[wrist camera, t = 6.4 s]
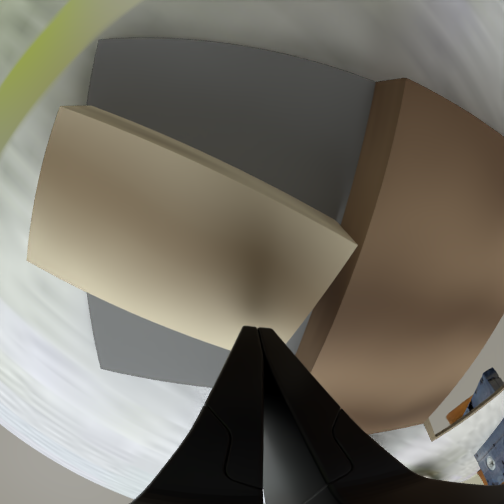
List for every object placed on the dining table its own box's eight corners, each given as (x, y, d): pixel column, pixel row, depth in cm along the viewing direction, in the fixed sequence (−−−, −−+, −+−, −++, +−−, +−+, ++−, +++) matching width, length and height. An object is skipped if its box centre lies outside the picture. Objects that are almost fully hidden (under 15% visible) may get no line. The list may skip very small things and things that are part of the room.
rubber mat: (278, 383, 14) (280, 392, 14) (103, 360, 13) (100, 368, 12) (368, 83, 8) (375, 82, 8) (105, 42, 7) (98, 39, 7)
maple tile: (264, 327, 12) (270, 362, 10) (54, 236, 9) (26, 260, 8) (336, 220, 10) (357, 245, 8) (91, 105, 8) (59, 105, 6)
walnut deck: (409, 396, 16) (423, 423, 14) (269, 404, 15) (274, 441, 13) (521, 167, 10) (554, 181, 7) (368, 83, 8) (405, 77, 6)
